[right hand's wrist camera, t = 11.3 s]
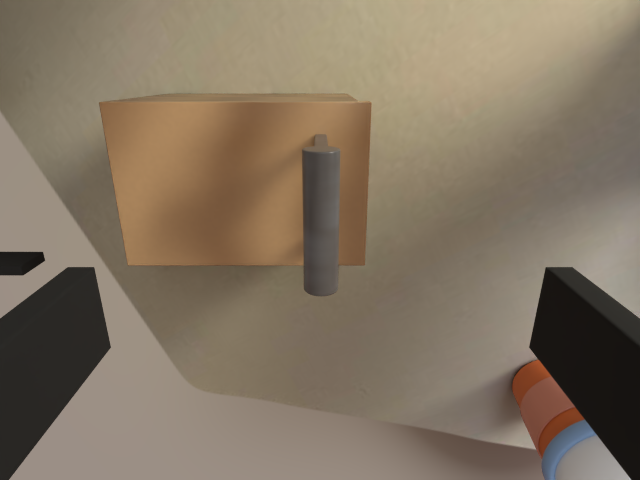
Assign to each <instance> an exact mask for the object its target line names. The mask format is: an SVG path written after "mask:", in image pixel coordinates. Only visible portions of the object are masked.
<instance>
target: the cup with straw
mask: <svg viewBox="0 0 640 480" xmlns="http://www.w3.org/2000/svg"><path fill="white" fill-rule="evenodd" d="M512 390H513V394H514V396H515V399H516V401H517V403H518V405H519V407H520V411H521V416H522V418H523V421H524V423H525V425H526V427H527V430H528V432H529V434H530V436H531V438H532V441H533V443H534V445H535V447H536V449H537V452H538V454H539V456H540V457H541V459H542V472H543V476H544V478H545V480H631V479H630V478H629V476H628V475H627V474H626V472H625V471H624V470H623V468H622V467H621V466H620V465H619V463H618V462H617V461H616V459H615V458H614V457H613V455H612V454H611V453H610V452H609V450H608V449H607V448H606V446H605V445H604V444H603V442H602V441H601V440H600V439H599V437H598V436H597V435H596V433H595V432H594V431H593V429H592V428H591V427H590V426H589V424H588V423H587V422H586V420H585V419H584V418H583V417H582V415H581V414H580V413H579V411H578V410H577V409H576V407H575V406H574V405H573V404H572V402H571V401H570V400H569V398H568V397H567V396H566V394H565V393H564V392H563V391H562V389H561V388H560V387H559V385H558V384H557V383H556V381H555V380H554V379H553V378H552V376H551V375H550V374H549V372H548V371H547V370H546V368H545V367H544V366H543V365H542V363H541V362H540V361H539V360H536V361H533V362H531V363H528V364H527V365H525V366H524V367H523V368H521V369H520V370H519V371H518V373H517V374H516V376H515V377H514V380H513V383H512Z"/></svg>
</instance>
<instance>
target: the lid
mask: <svg viewBox="0 0 640 480" xmlns="http://www.w3.org/2000/svg"><path fill="white" fill-rule="evenodd" d="M99 105H100V111H101V116H102V122H103V128H104V133H105V139H106V145H107V150H108V156H109V162H110V167H111V173H112V179H113V184H114V190H115V196H116V201H117V207H118V213H119V218H120V224H121V230H122V235H123V241H124V247H125V252H126V258H127V264H128V265H304V290H305V291H306V292H307V293H308V294H311V295H314V296H328V295H331V294H334V293H335V292H336V291H337V290H338V266H339V265H365V248H366V223H367V199H368V175H369V150H370V126H371V102H369V101H105V102H99Z"/></svg>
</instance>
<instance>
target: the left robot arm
mask: <svg viewBox="0 0 640 480" xmlns="http://www.w3.org/2000/svg"><path fill="white" fill-rule="evenodd" d="M44 261H45V258H44V254H43V252H0V275H24V274H26V273H27V272H29V271H30V270H32V269H33V268H35V267H36V266H38V265H39V264H41V263H42V262H44Z"/></svg>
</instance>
